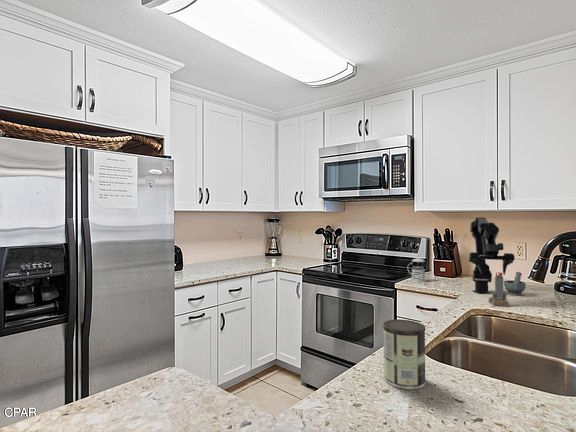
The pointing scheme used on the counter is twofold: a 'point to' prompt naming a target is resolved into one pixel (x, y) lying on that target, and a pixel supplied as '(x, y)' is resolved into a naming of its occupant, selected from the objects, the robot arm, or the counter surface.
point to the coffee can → (404, 354)
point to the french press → (422, 271)
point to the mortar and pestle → (515, 286)
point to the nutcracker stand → (498, 300)
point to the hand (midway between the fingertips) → (493, 273)
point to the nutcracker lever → (499, 285)
